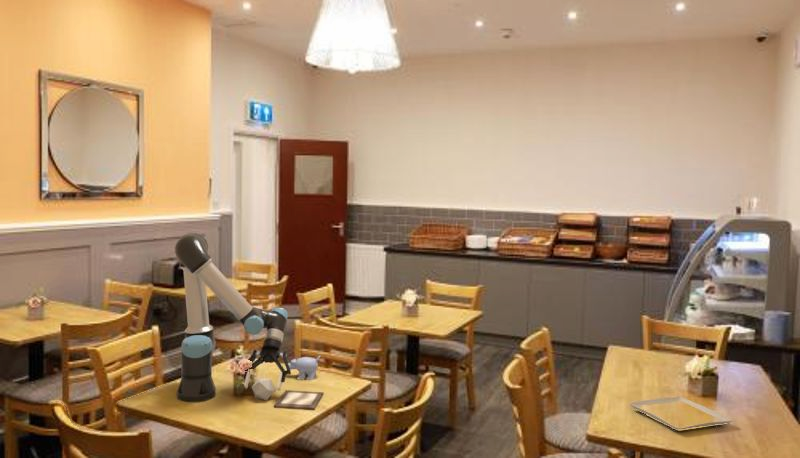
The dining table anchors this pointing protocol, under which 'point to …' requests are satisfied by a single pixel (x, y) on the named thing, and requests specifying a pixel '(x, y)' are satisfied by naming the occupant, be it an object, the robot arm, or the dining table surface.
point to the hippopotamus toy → (305, 367)
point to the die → (263, 388)
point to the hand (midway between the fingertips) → (262, 388)
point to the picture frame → (299, 400)
